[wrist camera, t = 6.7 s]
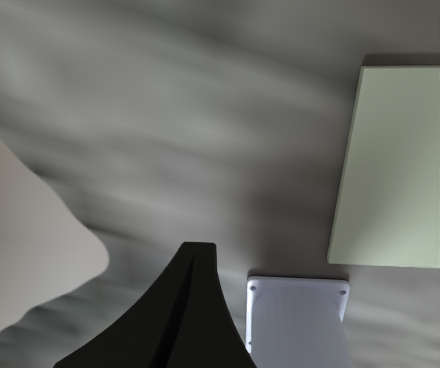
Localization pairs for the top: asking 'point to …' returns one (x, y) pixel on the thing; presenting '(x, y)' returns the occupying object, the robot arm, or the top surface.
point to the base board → (391, 171)
